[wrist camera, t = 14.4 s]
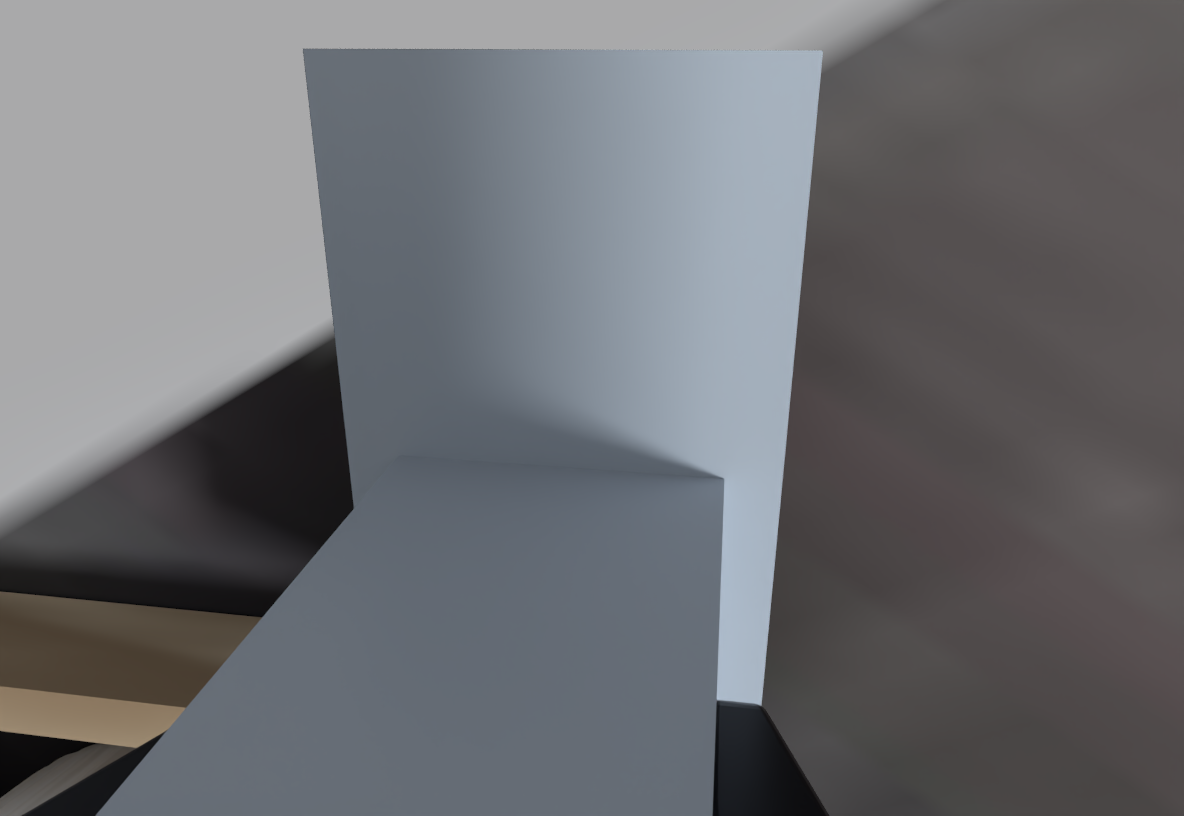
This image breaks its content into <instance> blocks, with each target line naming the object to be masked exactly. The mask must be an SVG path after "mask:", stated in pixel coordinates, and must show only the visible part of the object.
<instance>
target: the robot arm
mask: <svg viewBox="0 0 1184 816" xmlns="http://www.w3.org/2000/svg"><path fill="white" fill-rule="evenodd" d="M166 731H167V730H166ZM166 731H165V732H166ZM165 732H163V733H161V734H160V735H158V736H156V737H155V738H153V739H151V740H149V741H148V742H146V743H144V744H143V745H141V746H139V747H137V748H136V749H134V750H132V751H131V752H129V753H127V754H125V755H124V756H122V757H120V758H119V759H117V760H115V761H114V762H112V763H110V764H108V765H107V766H105V767H103V768H102V769H100V770H98V771H96V772H95V773H93V774H91V775H90V776H88V777H86V778H84V779H83V780H81V781H79V782H78V783H76V784H74V785H73V786H71V787H69V788H67V789H66V790H64V791H62V792H61V793H59V794H57V795H55V796H54V797H52V798H50V799H49V800H47V801H45V802H43V803H42V804H40V805H38V806H37V807H35V808H33V809H32V810H30V811H28V812H26V813H25V814H23V815H21V816H96V814H97V813H98V812H99V811H100V810H101V808H102V807H103V806H104V805H105V804H106V803H107V801H108V800H109V799H110V798H111V797H112V795H113V794H114V793H115V792H116V791H117V789H118V788H119V787H120V786H121V785H122V784H123V782H124V781H125V780H126V779H127V778H128V776H129V775H130V774H131V773H132V772H133V770H134V769H135V768H136V767H137V766H138V765H139V763H140V762H141V761H142V760H143V759H144V757H145V756H146V755H147V754H148V753H149V751H150V750H151V749H152V748H153V747H154V746H155V744H156V743H157V742H158V741H159V740H160V738H161V737H162V736H163V735H164V734H165ZM712 816H829V814H828V813H827V811H826V809H825V808H824V806H823V804H822V803H821V801H820V799H819V798H818V796H817V794H816V793H815V791H814V789H813V788H812V786H811V784H810V783H809V781H808V779H807V778H806V776H805V774H804V773H803V771H802V769H801V768H800V766H799V764H798V763H797V761H796V759H795V758H794V756H793V754H792V753H791V751H790V749H789V748H788V746H787V744H786V743H785V741H784V739H783V738H782V736H781V734H780V733H779V731H778V729H777V728H776V726H775V724H774V723H773V721H772V719H771V718H770V716H769V715H768V713H767V712H766V710H765V709H764V708H763V707H762V706H760V705H758V704H754V703H745V702H735V701H726V700H717V703H716V731H715V759H714V787H713V815H712Z"/></svg>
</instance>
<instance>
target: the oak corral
mask: <svg viewBox="0 0 1184 816" xmlns="http://www.w3.org/2000/svg"><path fill="white" fill-rule="evenodd" d="M261 618H262V617H252V616H242V615H232V614H222V613H212V612H202V611H192V610H182V609H172V608H162V607H152V606H142V605H131V604H121V603H111V602H101V601H91V600H81V599H71V598H61V597H51V596H41V595H31V594H20V593H10V592H0V731H5V732H13V733H21V734H29V735H37V736H45V737H53V738H61V739H69V740H77V741H86V742H94V743H102V744H110V745H118V746H126V747H134V748H137V747H139V746H141V745H143V744H144V743H146V742H148V741H149V740H151V739H153V738H155V737H156V736H158V735H160V734H161V733H163V732H165V731H166V730H168V729H169V728H170V727H171V725H172V724H173V723H174V722H175V721H176V719H177V718H178V717H179V716H180V715H181V713H182V712H183V711H184V710H185V709H186V708H187V706H188V705H189V704H190V703H191V702H192V700H193V699H194V698H195V697H196V696H197V694H198V693H199V692H200V691H201V690H202V689H203V687H204V686H205V685H206V684H207V683H208V681H209V680H210V679H211V678H212V677H213V675H214V674H215V673H216V672H217V671H218V670H219V668H220V667H221V666H222V665H223V664H224V662H225V661H226V660H227V659H228V658H229V656H230V655H231V654H232V653H233V652H234V651H235V649H236V648H237V647H238V646H239V645H240V643H241V642H242V641H243V640H244V639H245V637H246V636H247V635H248V634H249V633H250V632H251V630H252V629H253V628H254V627H255V626H256V624H257V623H258V622H259V621H260V620H261Z"/></svg>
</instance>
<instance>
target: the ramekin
mask: <svg viewBox="0 0 1184 816" xmlns="http://www.w3.org/2000/svg"><path fill="white" fill-rule="evenodd" d="M134 749H136V748H134V747H126V746H118V745H110V744H102V743H100V744H94V745H91V746H88V747H85V748H83V749H81V750H80V751H78V752H74V753H71V754H67V755H65V756H63V757H61V758H59V759H57V760H56V761H54V762H53V763H51V764H50V765H49V766H46V767H44V768H42V769H41V770H39V771H37V772H36V773H34V774H33V775H31V776H30V777H28V778H27V779H26V780H24V781H23V782H22V783H20V784H19V785H17V786H16V787H15V788H13V789H12V790H11V791H9V792H8V793H6V794H5V795H4V796H2V797H1V798H0V816H21V815H23V814H25V813H26V812H28V811H30V810H32V809H33V808H35V807H37V806H38V805H40V804H42V803H43V802H45V801H47V800H49V799H50V798H52V797H54V796H55V795H57V794H59V793H61V792H62V791H64V790H66V789H67V788H69V787H71V786H73V785H74V784H76V783H78V782H79V781H81V780H83V779H84V778H86V777H88V776H90V775H91V774H93V773H95V772H96V771H98V770H100V769H102V768H103V767H105V766H107V765H108V764H110V763H112V762H114V761H115V760H117V759H119V758H120V757H122V756H124V755H125V754H127V753H129V752H131V751H132V750H134Z"/></svg>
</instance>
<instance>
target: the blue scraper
mask: <svg viewBox="0 0 1184 816" xmlns="http://www.w3.org/2000/svg"><path fill="white" fill-rule="evenodd" d="M303 54H304V63H305V72H306V80H307V90H308V99H309V108H310V117H311V126H312V135H313V144H314V153H315V162H316V171H317V180H318V189H319V198H320V207H321V215H322V225H323V234H324V243H325V252H326V261H327V269H328V278H329V288H330V297H331V306H332V315H333V324H334V333H335V342H336V351H337V360H338V369H339V378H340V387H341V396H342V405H343V414H344V423H345V432H346V441H347V450H348V459H349V468H350V477H351V486H352V495H353V504H354V509H353V510H352V512H351V513H350V514H349V515H348V516H347V518H346V519H345V520H344V521H343V522H342V523H341V525H340V526H339V527H338V528H337V529H336V531H335V532H334V533H333V534H332V535H331V537H330V538H329V539H328V540H327V541H326V542H325V544H324V545H323V546H322V547H321V548H320V550H319V551H318V552H317V553H316V554H315V556H314V557H313V558H312V559H311V560H310V561H309V563H308V564H307V565H306V566H305V567H304V569H303V570H302V571H301V572H300V573H299V575H298V576H297V577H296V578H295V579H294V580H293V582H292V583H291V584H290V585H289V586H288V588H287V589H286V590H285V591H284V592H283V594H282V595H281V596H280V597H279V598H278V599H277V601H276V602H275V603H274V604H273V605H272V607H271V608H270V609H269V610H268V611H267V613H266V614H265V615H264V616H263V617H262V618H261V620H260V621H259V622H258V623H257V624H256V626H255V627H254V628H253V629H252V630H251V632H250V633H249V634H248V635H247V636H246V637H245V639H244V640H243V641H242V642H241V643H240V645H239V646H238V647H237V648H236V649H235V651H234V652H233V653H232V654H231V655H230V656H229V658H228V659H227V660H226V661H225V662H224V664H223V665H222V666H221V667H220V668H219V670H218V671H217V672H216V673H215V674H214V675H213V677H212V678H211V679H210V680H209V681H208V683H207V684H206V685H205V686H204V687H203V689H202V690H201V691H200V692H199V693H198V694H197V696H196V697H195V698H194V699H193V700H192V702H191V703H190V704H189V705H188V706H187V708H186V709H185V710H184V711H183V712H182V713H181V715H180V716H179V717H178V718H177V719H176V721H175V722H174V723H173V724H172V725H171V727H170V728H169V729H168V730H167V731H166V732H165V734H164V735H163V736H162V737H161V738H160V740H159V741H158V742H157V743H156V744H155V746H154V747H153V748H152V749H151V750H150V751H149V753H148V754H147V755H146V756H145V757H144V759H143V760H142V761H141V762H140V763H139V765H138V766H137V767H136V768H135V769H134V770H133V772H132V773H131V774H130V775H129V776H128V778H127V779H126V780H125V781H124V782H123V784H122V785H121V786H120V787H119V788H118V789H117V791H116V792H115V793H114V794H113V795H112V797H111V798H110V799H109V800H108V801H107V803H106V804H105V805H104V806H103V807H102V808H101V810H100V811H99V812H98V813H97V814H96V816H712V815H713V787H714V759H715V731H716V703H717V700H726V701H735V702H745V703H754V704H758V705H760V706H761V703H762V692H763V682H764V671H765V661H766V650H767V639H768V629H769V618H770V607H771V597H772V586H773V576H774V565H775V554H776V544H777V533H778V523H779V512H780V501H781V491H782V480H783V470H784V459H785V448H786V438H787V427H788V416H789V406H790V395H791V385H792V374H793V363H794V353H795V342H796V332H797V321H798V310H799V300H800V289H801V278H802V268H803V257H804V247H805V236H806V225H807V215H808V204H809V194H810V183H811V172H812V162H813V151H814V141H815V130H816V119H817V109H818V98H819V87H820V77H821V66H822V56H823V51H802V50H511V49H510V50H509V49H508V50H507V49H506V50H504V49H500V50H499V49H494V50H493V49H303Z"/></svg>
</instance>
